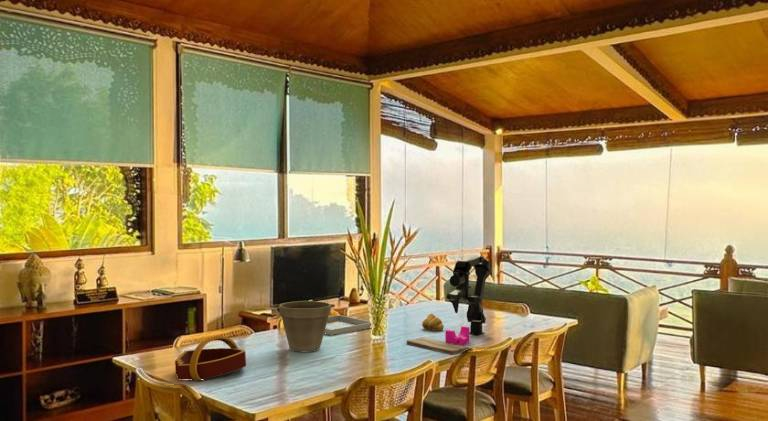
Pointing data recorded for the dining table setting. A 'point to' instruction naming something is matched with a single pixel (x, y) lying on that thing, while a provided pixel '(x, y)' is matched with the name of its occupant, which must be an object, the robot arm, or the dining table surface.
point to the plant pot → (305, 323)
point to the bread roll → (432, 323)
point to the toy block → (461, 338)
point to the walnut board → (437, 345)
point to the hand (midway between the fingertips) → (463, 314)
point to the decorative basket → (210, 360)
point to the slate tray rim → (361, 325)
